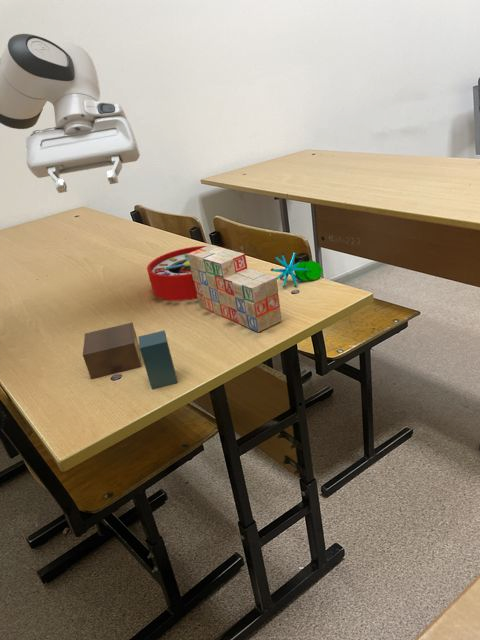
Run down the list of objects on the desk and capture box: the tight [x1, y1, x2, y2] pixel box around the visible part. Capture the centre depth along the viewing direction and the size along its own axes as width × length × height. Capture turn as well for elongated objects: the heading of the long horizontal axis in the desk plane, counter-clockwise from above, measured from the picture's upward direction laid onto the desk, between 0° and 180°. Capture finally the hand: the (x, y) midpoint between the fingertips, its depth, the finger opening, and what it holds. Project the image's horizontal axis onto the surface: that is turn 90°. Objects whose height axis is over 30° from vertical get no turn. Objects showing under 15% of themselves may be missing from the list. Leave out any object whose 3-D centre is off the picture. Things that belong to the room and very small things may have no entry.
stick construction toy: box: [270, 252, 323, 289], centre depth 120 cm, size 12×7×8 cm
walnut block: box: [82, 322, 142, 380], centre depth 97 cm, size 9×9×5 cm
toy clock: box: [146, 245, 227, 302], centre depth 127 cm, size 20×6×20 cm
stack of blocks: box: [187, 244, 283, 333], centre depth 106 cm, size 21×6×12 cm, turn 39°
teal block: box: [138, 330, 178, 390], centre depth 88 cm, size 4×4×8 cm
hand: (87, 186), depth 96 cm, fingers open, 8 cm apart
